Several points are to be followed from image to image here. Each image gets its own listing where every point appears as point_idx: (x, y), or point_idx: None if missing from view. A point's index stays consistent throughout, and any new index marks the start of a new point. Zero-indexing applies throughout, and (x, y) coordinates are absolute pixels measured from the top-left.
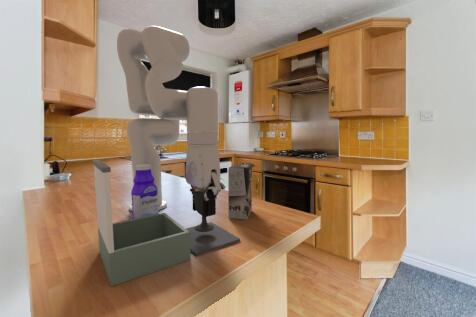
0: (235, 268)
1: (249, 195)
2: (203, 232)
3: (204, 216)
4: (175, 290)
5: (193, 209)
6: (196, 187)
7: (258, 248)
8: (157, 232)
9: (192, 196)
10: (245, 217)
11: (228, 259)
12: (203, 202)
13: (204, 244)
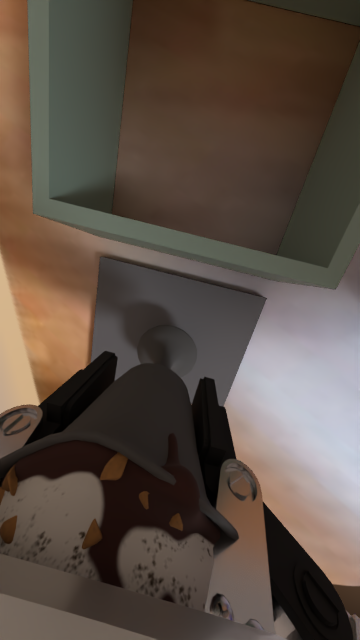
0: (8, 279)
1: None
2: None
3: (105, 351)
4: (6, 115)
5: (206, 378)
6: (85, 557)
7: (44, 369)
8: (289, 247)
9: (224, 442)
10: None
11: (45, 297)
12: (64, 395)
13: (124, 304)
